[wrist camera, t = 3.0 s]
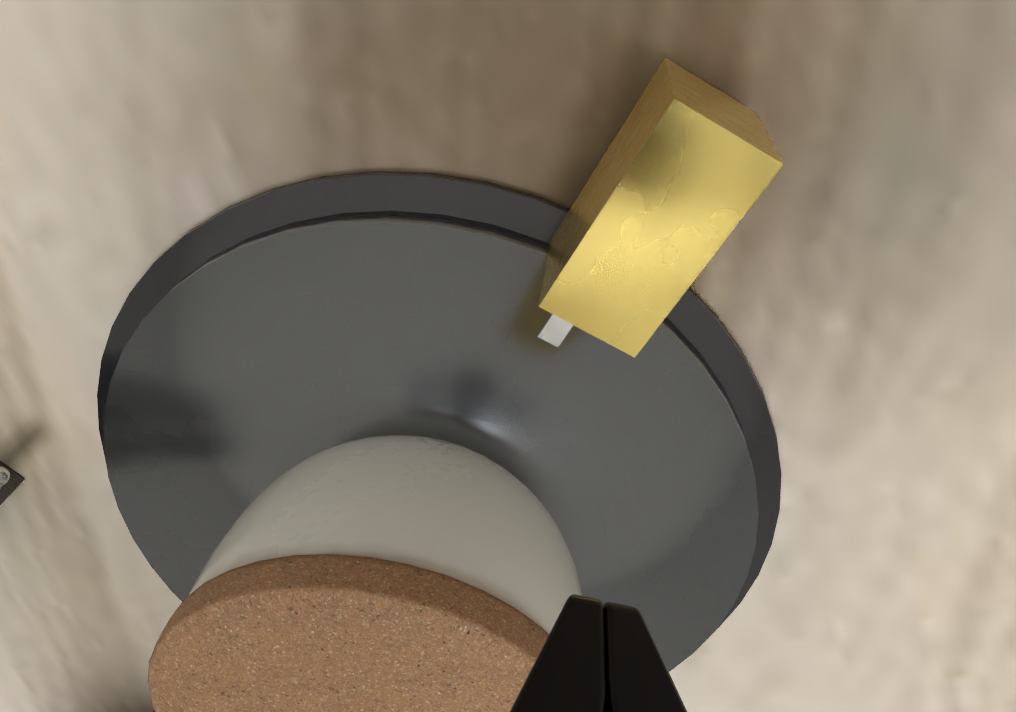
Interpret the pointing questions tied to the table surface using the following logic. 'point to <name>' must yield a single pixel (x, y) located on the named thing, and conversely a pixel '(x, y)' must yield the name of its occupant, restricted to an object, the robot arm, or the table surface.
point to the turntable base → (470, 204)
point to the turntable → (476, 366)
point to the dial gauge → (8, 482)
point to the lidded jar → (371, 589)
